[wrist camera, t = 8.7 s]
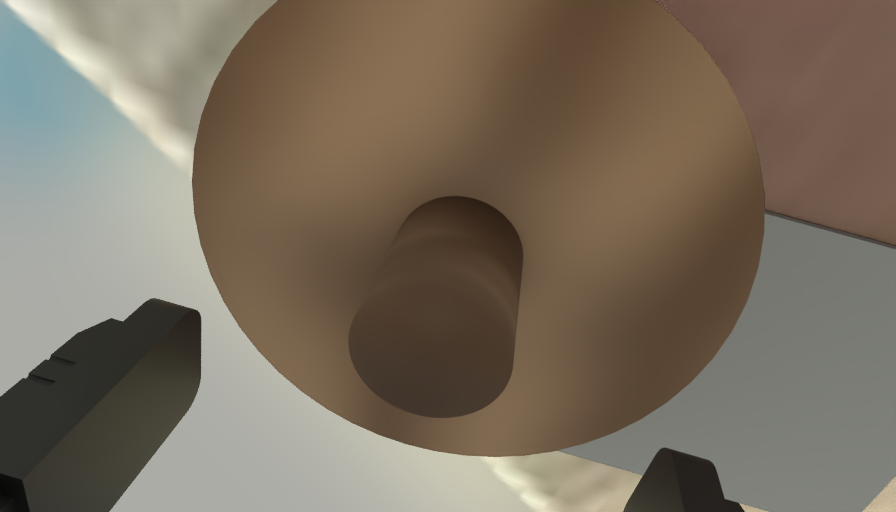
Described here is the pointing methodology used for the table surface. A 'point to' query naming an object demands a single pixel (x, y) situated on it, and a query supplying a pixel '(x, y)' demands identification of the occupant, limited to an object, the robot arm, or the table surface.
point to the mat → (791, 382)
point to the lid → (479, 213)
